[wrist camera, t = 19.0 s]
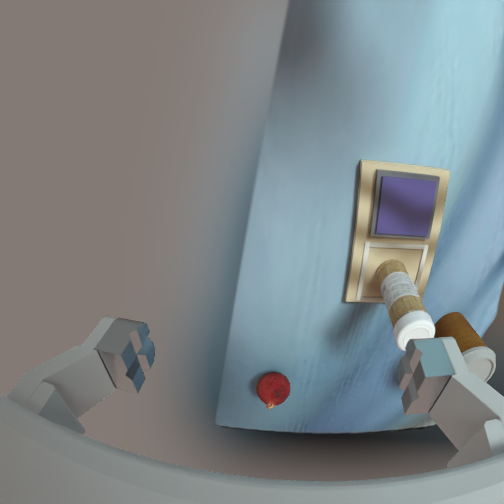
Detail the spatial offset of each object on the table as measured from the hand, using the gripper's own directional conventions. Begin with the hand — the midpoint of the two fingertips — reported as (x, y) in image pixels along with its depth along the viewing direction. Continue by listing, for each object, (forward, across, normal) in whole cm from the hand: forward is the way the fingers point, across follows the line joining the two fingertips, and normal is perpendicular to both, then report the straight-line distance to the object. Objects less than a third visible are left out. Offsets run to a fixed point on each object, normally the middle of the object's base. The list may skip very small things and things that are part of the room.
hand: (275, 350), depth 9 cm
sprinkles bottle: (+30, -14, +15) cm, 36 cm away
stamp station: (+31, -14, +10) cm, 36 cm away
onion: (+31, +2, +38) cm, 49 cm away
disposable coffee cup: (+31, -28, +26) cm, 49 cm away
